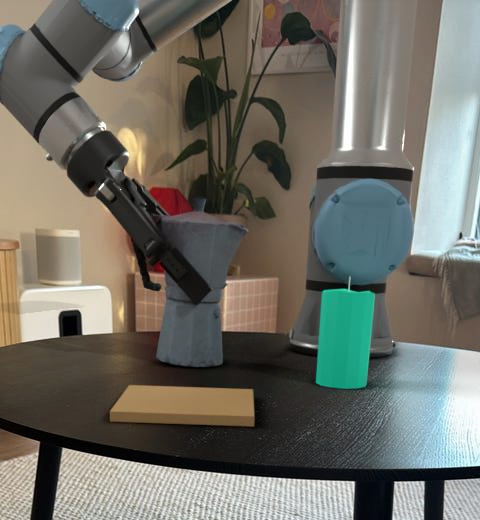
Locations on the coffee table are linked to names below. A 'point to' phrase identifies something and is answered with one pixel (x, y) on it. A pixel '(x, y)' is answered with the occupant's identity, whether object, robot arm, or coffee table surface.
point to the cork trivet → (185, 406)
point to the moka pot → (213, 272)
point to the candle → (344, 338)
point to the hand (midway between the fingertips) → (212, 294)
